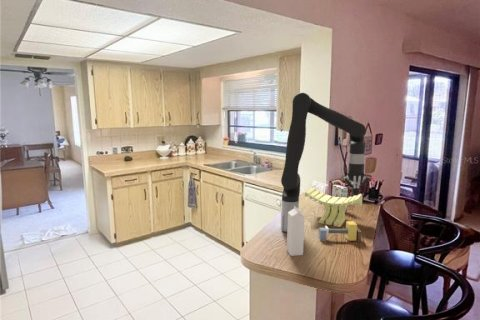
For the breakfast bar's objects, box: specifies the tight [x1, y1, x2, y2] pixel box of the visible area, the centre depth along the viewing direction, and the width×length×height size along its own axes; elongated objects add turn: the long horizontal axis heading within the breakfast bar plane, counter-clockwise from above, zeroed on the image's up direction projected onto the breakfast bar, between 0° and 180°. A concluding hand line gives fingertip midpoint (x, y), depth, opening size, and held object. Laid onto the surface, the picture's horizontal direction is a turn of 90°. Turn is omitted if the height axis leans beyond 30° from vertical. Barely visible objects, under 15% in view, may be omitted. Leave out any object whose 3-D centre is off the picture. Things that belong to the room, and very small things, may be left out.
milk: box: [286, 206, 305, 257], centre depth 139 cm, size 6×6×22 cm
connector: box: [318, 227, 327, 242], centre depth 156 cm, size 3×4×6 cm
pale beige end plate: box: [324, 225, 330, 237], centre depth 155 cm, size 1×4×4 cm, turn 178°
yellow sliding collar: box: [345, 220, 358, 242], centre depth 155 cm, size 4×5×8 cm
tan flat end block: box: [356, 226, 363, 243], centre depth 155 cm, size 2×6×6 cm, turn 178°
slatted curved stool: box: [304, 187, 363, 228], centre depth 182 cm, size 30×16×18 cm, turn 58°
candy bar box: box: [331, 184, 349, 213], centre depth 203 cm, size 11×5×16 cm, turn 17°
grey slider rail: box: [329, 228, 362, 234], centre depth 155 cm, size 20×2×2 cm, turn 88°
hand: (355, 195), depth 156 cm, fingers closed
